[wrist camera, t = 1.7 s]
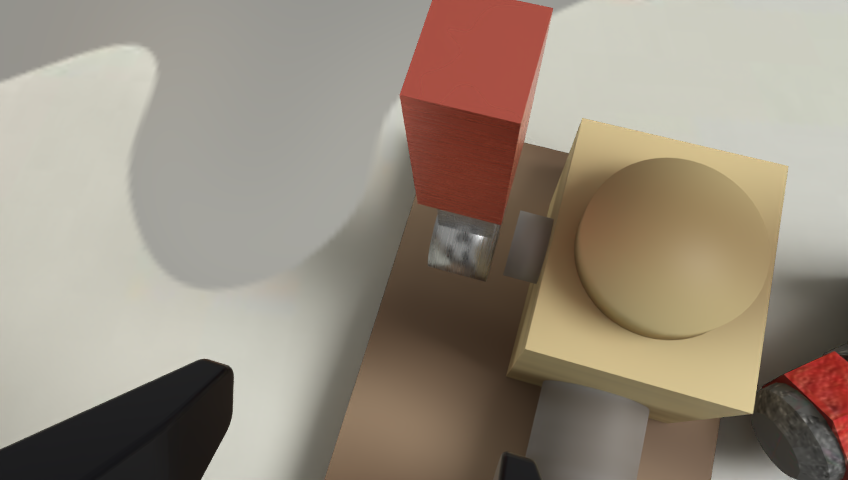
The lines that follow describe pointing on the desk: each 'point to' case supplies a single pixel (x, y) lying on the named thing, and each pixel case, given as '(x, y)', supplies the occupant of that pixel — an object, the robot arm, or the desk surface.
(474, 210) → the lever
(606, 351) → the ball valve manifold
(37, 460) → the robot arm
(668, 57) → the desk surface
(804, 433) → the toy minigun
